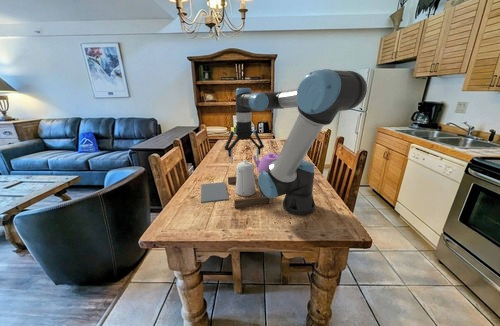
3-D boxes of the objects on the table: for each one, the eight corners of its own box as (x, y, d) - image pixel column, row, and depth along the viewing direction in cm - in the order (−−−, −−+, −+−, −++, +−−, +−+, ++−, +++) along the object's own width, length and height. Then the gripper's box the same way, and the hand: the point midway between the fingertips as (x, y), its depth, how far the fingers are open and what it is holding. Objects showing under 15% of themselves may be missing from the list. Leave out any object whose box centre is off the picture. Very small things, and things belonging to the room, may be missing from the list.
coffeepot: (229, 203, 109) (227, 167, 103) (241, 183, 132) (240, 153, 126) (250, 204, 107) (250, 169, 101) (258, 184, 130) (258, 154, 124)
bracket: (269, 204, 107) (269, 197, 106) (234, 208, 104) (234, 200, 103) (255, 180, 136) (255, 174, 134) (228, 183, 132) (227, 177, 131)
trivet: (228, 199, 112) (228, 198, 112) (201, 202, 110) (200, 201, 110) (224, 183, 133) (224, 182, 133) (201, 185, 130) (201, 184, 130)
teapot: (259, 167, 158) (259, 147, 153) (286, 171, 151) (287, 150, 146) (249, 177, 141) (248, 155, 136) (279, 181, 134) (280, 158, 129)
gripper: (266, 119, 113) (265, 157, 120) (218, 120, 108) (220, 161, 115) (270, 121, 106) (269, 162, 113) (219, 123, 102) (221, 165, 108)
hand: (244, 161), depth 114 cm, fingers open, 13 cm apart
